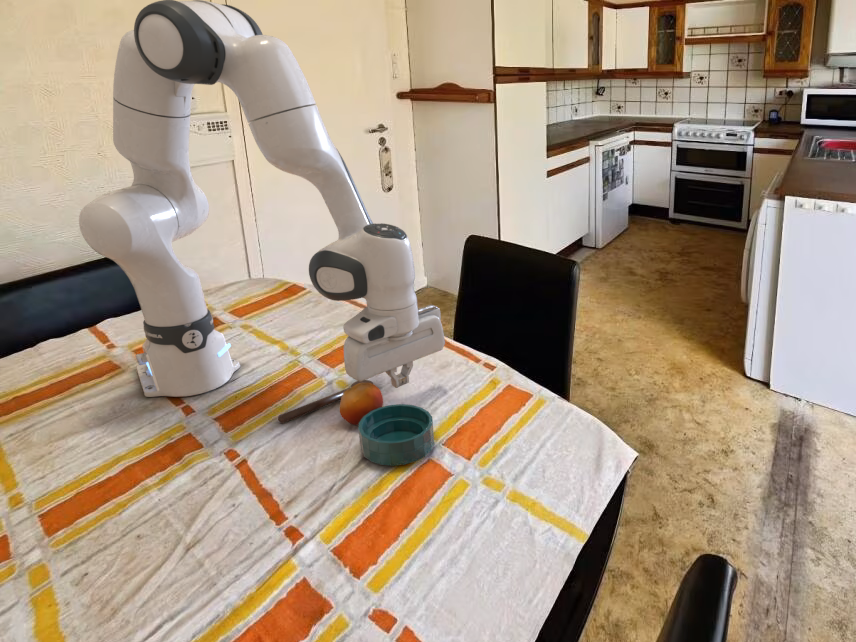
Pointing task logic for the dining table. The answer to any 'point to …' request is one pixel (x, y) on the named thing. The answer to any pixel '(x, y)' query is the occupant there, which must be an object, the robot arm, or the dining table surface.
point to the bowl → (396, 434)
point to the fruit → (360, 402)
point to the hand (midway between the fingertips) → (400, 384)
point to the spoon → (315, 405)
